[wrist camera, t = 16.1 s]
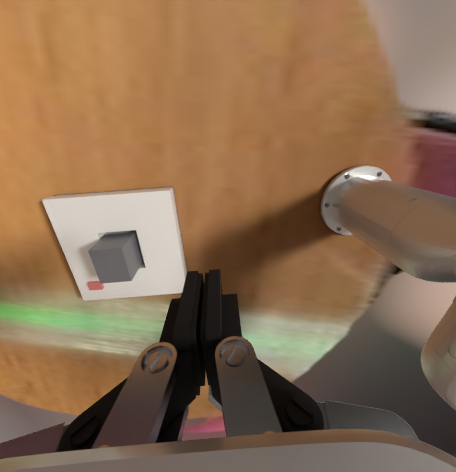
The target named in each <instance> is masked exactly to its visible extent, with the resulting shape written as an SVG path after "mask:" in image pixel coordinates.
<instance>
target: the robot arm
mask: <svg viewBox="0 0 456 472" xmlns="http://www.w3.org/2000/svg"><path fill="white" fill-rule="evenodd" d="M344 176H345V177H344ZM325 204H326V205H325ZM320 208H321V215H322V218H323V220H324V222H325V224H326V225H327V226H328V227H329V228H330V229H332V230H333V231H334V232H336V233H339V234H342V235H355V236H356V237H357V238H359V239H360V240H362V241H363V242H364V243H366V244H367V245H369V246H370V247H371V248H373V249H374V250H375V251H377V252H378V253H380V254H381V255H382V256H384V257H385V258H387V259H388V260H389V261H391V262H392V263H394V264H395V265H396V266H398V267H399V268H401V269H402V270H404V271H405V272H407V273H408V274H410V275H412V276H414V277H416V278H419V279H423V280H426V281H432V282H456V198H453V197H449V196H445V195H441V194H438V193H434V192H430V191H426V190H422V189H418V188H415V187H411V186H407V185H403V184H399V183H395V182H392V180H391V178H390V177H389V175H388V174H387V173H386V172H385V171H384V170H382V169H380V168H378V167H374V166H368V165H359V166H355V167H351V168H349V169H347V170H344V171H343V172H341V173H340V174H338V175H337V176H336V177H335V178H334V179H333V180H332V181H331V182H330V183H329V185H328V186H327V188H326V190H325V191H324V193H323V196H322V199H321V205H320ZM421 364H422V369H423V371H424V374H425V376H426V378H427V379H428V381H429V383H430V384H431V385H432V386H433V388H434V389H435V390H436V391H437V393H438V394H439V395H440V396H441V397H442V398H443V399H444V400H445V401H446V402H447V403H448V404H449V405H450V406H452V407H453V408H454V409H455V410H456V297H455V298H454V300H453V303H452V304H451V306H450V307H449V309H448V310H447V312H446V313H445V315H444V316H443V318H442V319H441V321H440V322H439V324H438V325H437V326H436V328H435V329H434V331H433V333H432V334H431V336H430V337H429V338H428V340H427V342H426V344H425V346H424V348H423V351H422V355H421ZM205 373H206V374H207V380H208V385H210V387H211V394H212V397H213V398H214V399H215V400H216V401H217V402H218V403H219V404H220V405H221V406H222V412H223V419H224V425H225V432H226V437H222V438H210V439H200V440H188V441H182V438H183V434H184V429H185V425H186V421H187V417H188V413H189V404H190V403H191V402H192V401H193V400H194V399H195V398H196V395H200V386H204V385H205ZM0 472H456V458H455V457H453V456H451V455H450V454H448V453H446V452H444V451H442V450H440V449H438V448H436V447H434V446H431V445H429V444H426V443H424V442H421V441H419V440H418V438H417V436H416V434H415V433H414V431H413V430H412V428H411V427H410V426H409V425H408V424H407V423H406V422H405V421H404V420H403V419H402V418H401V417H399V416H397V415H396V414H394V413H392V412H389V411H386V410H382V409H376V408H370V407H364V406H359V405H352V404H347V403H341V402H335V401H328V400H325V402H324V403H321V402H316V401H314V400H313V399H312V398H311V397H310V396H309V395H307V394H306V393H304V392H303V391H302V390H300V389H299V388H297V387H296V386H295V385H293V384H292V383H291V382H289V381H288V380H286V379H285V378H284V377H282V376H281V375H279V374H278V373H277V372H275V371H274V370H272V369H271V368H270V367H268V366H267V365H265V364H264V363H263V362H261V361H260V360H258V359H257V357H256V354H255V351H254V348H253V346H252V344H251V343H250V342H249V341H248V340H246V339H244V338H242V334H241V326H240V317H239V309H238V300H237V294H227V295H222V285H221V274H220V269H216V270H209V273H205V282H204V281H203V274H202V273H201V274H199V272H198V271H191V272H187V274H186V278H185V283H184V287H183V291H182V296H181V298H178V299H172V300H171V303H170V306H169V310H168V313H167V317H166V320H165V324H164V327H163V331H162V334H161V338H160V341H159V343H156V344H153V345H151V346H149V347H148V348H146V349H145V350H144V351H143V352H142V353H141V355H140V356H139V358H138V359H137V361H136V363H135V365H134V367H133V369H132V371H131V373H130V375H129V377H128V378H126V379H125V380H124V381H123V382H121V383H120V384H119V385H117V386H116V387H115V388H114V389H112V390H111V391H110V392H109V393H107V394H106V395H105V396H103V397H102V398H101V399H100V400H98V401H97V402H96V403H94V404H93V405H92V406H91V407H89V408H88V409H87V410H86V411H84V412H83V413H82V414H80V415H79V416H78V417H77V418H76V419H75V420H74V421H73V422H72V423H71V424H69V425H66V423H65V422H64V423H61V424H58V425H55V426H52V427H49V428H46V429H43V430H39V431H37V432H33V433H30V434H27V435H25V436H21V437H18V438H15V439H12V440H9V441H6V442H3V443H0Z"/></svg>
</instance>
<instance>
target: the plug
mask: <svg viewBox="0 0 456 472" xmlns="http://www.w3.org/2000/svg"><path fill="white" fill-rule="evenodd" d="M88 252H89V255H90V257H91V260H92V263H93V265H94V268H95V271H96V273H97V276H98V279H99V281H100V284H103V283H114V282H126V281H132V280H133V278H134V276H135V274H136V273H137V271H138V269H139V268H140V266H141V264H142V263H143V260H142V256H141V253H140V249H139V245H138V241H137V235H136V234H135V232H130V233H118V234H107V235H105V236H104V237H103V238H102V239H101V240H100V241H98V242H97V243H96V244H95V245H94V246H93V247H92V248H91V249H89V250H88Z"/></svg>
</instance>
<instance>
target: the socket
mask: <svg viewBox="0 0 456 472" xmlns="http://www.w3.org/2000/svg"><path fill="white" fill-rule="evenodd" d="M42 202H43V204H44V207H45V209H46V211H47V214H48V216H49V219H50V221H51V223H52V226H53V228H54V231H55V233H56V235H57V238H58V240H59V242H60V245H61V247H62V250H63V252H64V254H65V257H66V259H67V262H68V264H69V266H70V269H71V271H72V273H73V276H74V278H75V281H76V283H77V285H78V288H79V290H80V293H81V295H82V297H83V300H84V301H87V300H100V299H112V298H125V297H137V296H150V295H162V294H174V293H182V291H183V287H184V283H185V278H186V274H187V267H186V261H185V255H184V249H183V243H182V237H181V231H180V225H179V219H178V213H177V207H176V201H175V195H174V189H173V187H159V188H145V189H132V190H118V191H104V192H91V193H77V194H63V195H53V196H51V197H48V198H45V199H42ZM130 232H135V234H136V235H137V241H138V245H139V249H140V253H141V256H142V260H143V263H142V264H141V266H140V268H139V269H138V271H137V273H136V274H135V276H134V278H133V280H132V281H126V282H114V283H103V284H100V281H99V279H98V276H97V273H96V271H95V268H94V265H93V263H92V260H91V257H90V255H89V252H88V250H89V249H91V248H92V247H93V246H94V245H95V244H96V243H97V242H98V241H100V240H101V239H102V238H103V237H104V236H105V235H107V234H118V233H130Z"/></svg>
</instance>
